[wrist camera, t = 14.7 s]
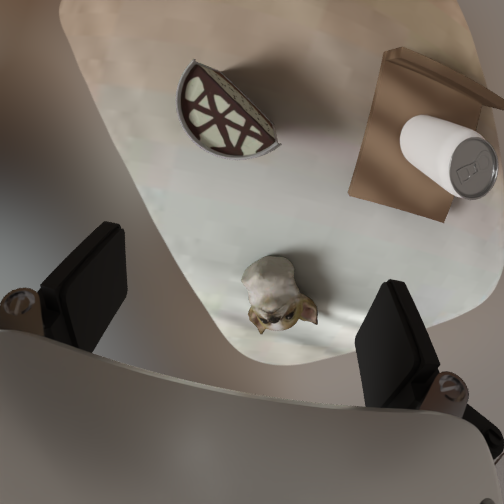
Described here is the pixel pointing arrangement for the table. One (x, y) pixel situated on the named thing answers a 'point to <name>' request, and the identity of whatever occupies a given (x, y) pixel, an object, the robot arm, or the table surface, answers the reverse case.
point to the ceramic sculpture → (276, 295)
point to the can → (450, 155)
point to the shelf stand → (395, 117)
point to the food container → (222, 115)
